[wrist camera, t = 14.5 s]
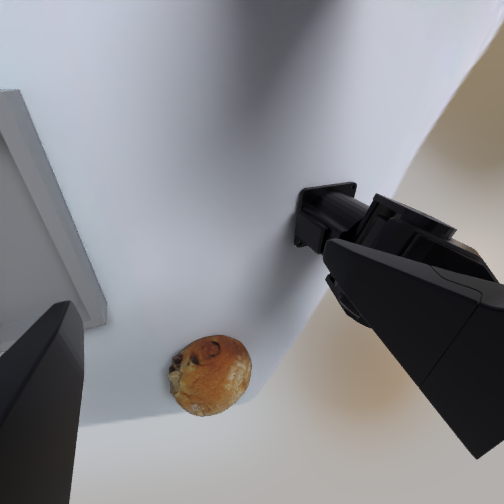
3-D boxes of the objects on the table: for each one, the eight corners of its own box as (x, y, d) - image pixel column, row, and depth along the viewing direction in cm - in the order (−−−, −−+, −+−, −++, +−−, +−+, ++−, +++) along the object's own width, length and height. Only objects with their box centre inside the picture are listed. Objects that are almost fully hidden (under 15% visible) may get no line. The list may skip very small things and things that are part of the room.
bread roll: (184, 366, 38) (210, 421, 34) (141, 373, 28) (171, 449, 25) (239, 327, 38) (270, 377, 35) (213, 320, 28) (253, 389, 25)
